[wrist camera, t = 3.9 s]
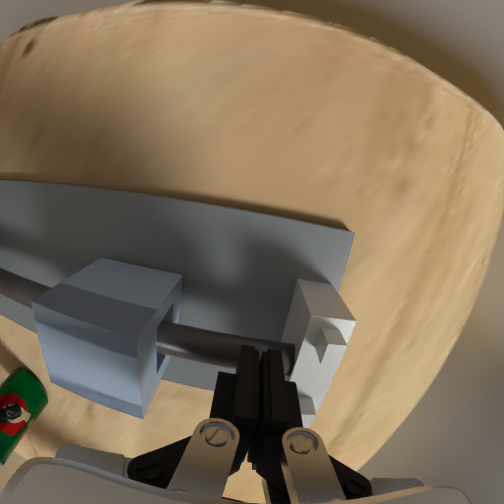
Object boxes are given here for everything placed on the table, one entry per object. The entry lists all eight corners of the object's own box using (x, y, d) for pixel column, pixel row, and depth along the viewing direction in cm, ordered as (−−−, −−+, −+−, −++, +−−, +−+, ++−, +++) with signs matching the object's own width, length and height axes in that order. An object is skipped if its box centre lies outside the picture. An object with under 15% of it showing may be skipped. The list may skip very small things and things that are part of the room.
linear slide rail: (349, 230, 15) (402, 263, 9) (297, 394, 18) (308, 462, 12) (-14, 178, 14) (-66, 186, 8) (-5, 305, 17) (-45, 332, 11)
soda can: (13, 357, 19) (-49, 420, 7) (46, 380, 19) (-15, 456, 7) (22, 387, 20) (-29, 448, 8) (53, 409, 20) (5, 479, 9)
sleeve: (182, 275, 14) (136, 338, 8) (177, 342, 15) (143, 419, 9) (102, 257, 14) (31, 301, 8) (104, 323, 15) (51, 381, 9)
